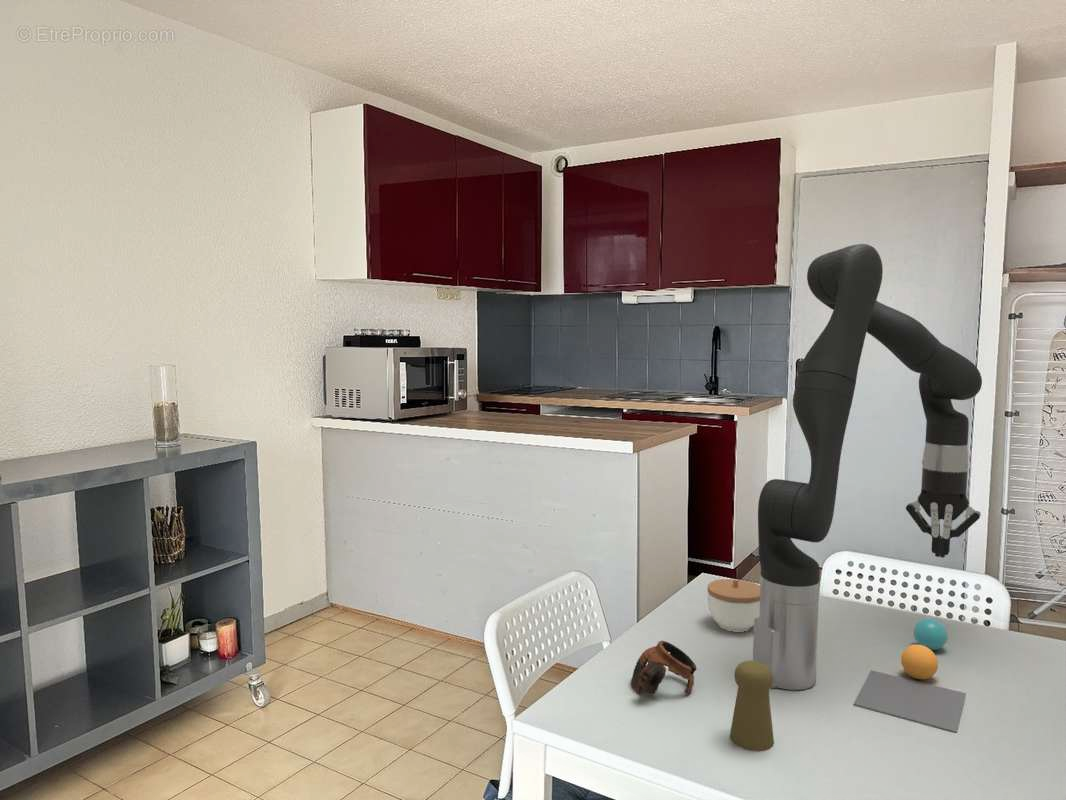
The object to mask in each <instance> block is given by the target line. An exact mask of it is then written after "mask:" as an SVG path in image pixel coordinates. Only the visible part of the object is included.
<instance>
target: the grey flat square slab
mask: <svg viewBox="0 0 1066 800" xmlns="http://www.w3.org/2000/svg"><path fill="white" fill-rule="evenodd" d="M965 695H967V692H962V691H959V690H954V689H950V688H946V687H942V686H937V685H934V684H930V683H926V682H922V681H918V680H913V679H908V678H905V677H901V676H897V675H893V674H889V673H885V672H884V673H883V672H880V671H875V670H870V672H869V674H868V676H867V677H866V679H865V682H864V683H863V685H862V686H861V689H860V690H859V692H858V694H857V696H856V698H855V699H854V702H853V706H855V707H859V708H863V709H866V710H871V711H875V712H878V713H881V714H886V715H887V716H888V715H889V716H893V717H896V718H899V719H903V720H907V721H911V722H915V723H919V724H922V725H926V726H930V727H933V728H937V729H941V730H944V731H948V732H951V733H955V734H957V733H958V729H959V725H960V720H961V716H962V712H963V708H964V704H965V699H966V696H965Z"/></svg>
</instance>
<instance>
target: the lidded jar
mask: <svg viewBox="0 0 1066 800" xmlns="http://www.w3.org/2000/svg"><path fill="white" fill-rule="evenodd" d="M707 602H708V603H707V604H708V609H709V612H710V614H711V616H712V618H713V620H714V621H715V622H716V623H717V624H718V627H720V628H721V629H722V630H724V629H725V631H727V632H731V631H733V632H732V633H745V632H744V631H746V632H748V630H749V629H750V628H752V627H754V619H755V618H758V617H759V609H760V585H759V584H756V583H754V582H752V581H748V580H742V579H737V578H723V579H717V580H713V581H710V582H709V583H708V584H707ZM750 630H751V629H750ZM750 630H749V631H750Z"/></svg>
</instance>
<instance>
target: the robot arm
mask: <svg viewBox="0 0 1066 800" xmlns="http://www.w3.org/2000/svg"><path fill="white" fill-rule="evenodd" d="M806 280H807V285H808V288H809V290H810V292H811V293H812V294H813V296H814V297H815V298H816V299H817V300H818V301H819V302H821V303H822V304H824V305H825V306H826V307H828V308H830V309H831V310H833V311H832V313H831V316H830V319H829V320H828V322H827V324H826V326H825V327H824V329H823V330H822V332H821V333H820V334H819V335H818V337H817V338H816V340H815V342H813V344H812V346H811V347H810V349H809V350H808V351H807V352H806V354H805V356H804V358H803V360H802V361H801V363H800V366H799V368H798V373H797V378H796V383H795V387H794V391H793V396H792V407H793V411H794V414H795V418H796V421H797V422H798V425H799V427H800V429H801V431H802V433H803V436H804V438H805V441H806V444H807V447H808V449H809V456H810V462H811V463H810V474H809V475H810V476H809V481H808V483H807V482H803V481H802V482H801V481H794V480H787V479H782V478H781V479H780V478H776V479H775V478H772V479H770V480H768V481H767V482H766V483H765V484H764V486H762V489H761V491H760V493H759V498H758V505H757V528H758V529H757V530H758V533H757V534H758V536H757V538H758V560H759V561H758V562H759V564H760V585H759V586H760V609H759V617H758V618H755V619H754V625H753V640H752V641H753V643H752V644H753V645H752V661H757V662H760V663H763V664H765V665H766V666H768V667H769V668H770V670H771V671H772V675H773V683H772V686H771V688H770V689H774V688H775V689H776V687H777V688H779V689H783V690H784V689H785V690H791V691H802V690H808V689H809V688H812V687H813V686H814V685H815V684H816V682H817V681H816V679H817V676H816V675H817V657H818V656H817V651H818V632H819V631H818V630H819V629H818V625H819V602H820V582H821V581H820V579H821V578H820V577H821V570H820V569H821V568H820V565H819V562H818V561H817V560H816V559H814V558H813V557H811V556H810V555H808V554H806V553H805V552H804V551H803V550H801V549H800V548H799V547H797V545H796V544H795V543H794V542H793V540H792V539H794V540H799V541H804V542H809V543H821V542H823V541H824V539H826V537H827V536H828V534H829V531H830V529H831V526H832V523H833V517H834V512H835V505H836V497H837V491H838V490H837V489H838V479H839V474H840V473H839V472H840V464H841V457H842V456H841V455H842V451H843V444H844V439H845V434H846V430H847V426H848V420H849V417H850V414H851V413H850V411H851V408H852V404H853V399H854V394H855V390H856V384H857V378H858V377H857V376H858V373H859V372H858V371H859V366H860V362H861V358H862V357H861V356H862V352H863V348H864V344H865V340H866V334H869V335H870V336H872V337H873V338H874V339H876V340H877V342H879V343H881V344H882V345H883V346H884V347H886V349H888V350H889V352H891V353H892V354H893V356H895V357H896V358H897V359H898V360H899V361H900V362H901V363H902V364H903V365H904V367H905V366H906V368H908V369H909V370H911V371H913V372H914V373H917V374H919V379H918V389H919V390H918V391H919V396H920V400H921V403H922V407H923V409H922V410H923V413H924V416H925V420H926V423H925V425H926V426H925V443H924V449H923V453H922V459H921V464H922V469H921V470H922V471H921V489H920V493H919V495H918V497H917V500H915V501H913V502H910V503H907V505H906V506H905V510H906V512H907V513H908V514H909V516H911V518H912V520H913V521H914V522H915V524H916V526H918V528H919V529H920V530H921V531H922V533H924V534H929V536H930V537H931V553H932V554H934V556H935V557H936V558H942V559H943V558H945V557H946V556H948V555H949V553H950V551H951V550H950V549H951V539H952V538H959V537H961V536H962V535H963V534H964V533H966V531H967V530H968V529H969V528H971V527H972V526H973V525H974V524H975V523H976V522H977V521H978V520H979V519H980V517H981V515H982V514H981V512H980V511H979V510H975V509H974V508H973V507H972V506H970V501H969V499H968V497H967V491H968V490H967V489H968V473H969V469H968V468H969V449H968V448H969V446H968V442H969V426H970V424H969V423H970V422H969V418H968V416H967V415H966V414H964V413H962V412H960V411H958V410H956V409H955V408H954V406H953V403H952V400H955V401H966V400H970V399H972V398H974V397H975V396H977V394H979V392H980V390H981V388H982V384H983V378H982V375H981V371H980V370H979V369H978V367H977V366H976V365H975V364H974V363H973V362H972V361H971V360H969V359H968V358H967V357H965V356H964V355H962V354H960V353H959V352H957V351H956V350H954V349H952V348H950V347H948V346H946V345H944V344H943V343H942V342H940V340H939V339H938V338H937V337H936V336H935V335H934V334H933V333H932V332H931V331H930V330H929V329H928V328H927V327H926V326H924V324H922V323H921V322H920V321H918V320H917V319H916V318H914V317H913V316H910V315H909V314H906V313H905V312H902V311H900V310H898V309H895V308H893V307H891V306H888V305H886V304H884V303H882V302H880V301H878V300H877V299H878V297H879V293H880V289H881V285H882V282H883V262H882V258H881V256H880V254H879V252H878V251H877V249H876V248H875V247H873V246H872V245H870V244H867V243H859V244H853V245H849V246H846V247H843V248H842V247H841V248H840V249H836V250H833V251H829V252H827V253H824V254H822V255H820V256H818V257H816V258H815V259H813V260H812V261H811V262H810V264H809V266H808V268H807V274H806ZM920 506H921V507H922V508H921V507H920ZM922 509H923V510H924V512H925V513H926V515H927V516H928V517H930V524H929V523H928V521H927V520H926V519H925V517H924V516H923V515H922V513H921V510H922ZM964 512H965V514H964V518H965V520H964V521H962V522H961V523H960V524H959V525H957V527H956V528H954V529H953V527H952V526H953V522H954V521H956V520H957V519H958V518H959V517H960V516H961V515H962V514H963V513H964ZM941 520H943V528H942V532H941ZM941 534H942V535H941Z"/></svg>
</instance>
